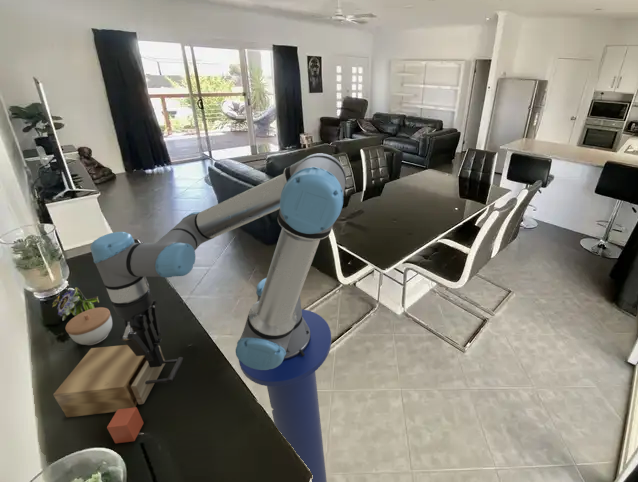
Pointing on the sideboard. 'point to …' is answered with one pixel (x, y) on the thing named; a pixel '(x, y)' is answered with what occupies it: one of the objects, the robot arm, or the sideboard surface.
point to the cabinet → (99, 382)
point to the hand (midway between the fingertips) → (156, 364)
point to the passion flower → (73, 303)
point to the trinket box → (90, 326)
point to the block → (125, 425)
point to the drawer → (149, 378)
